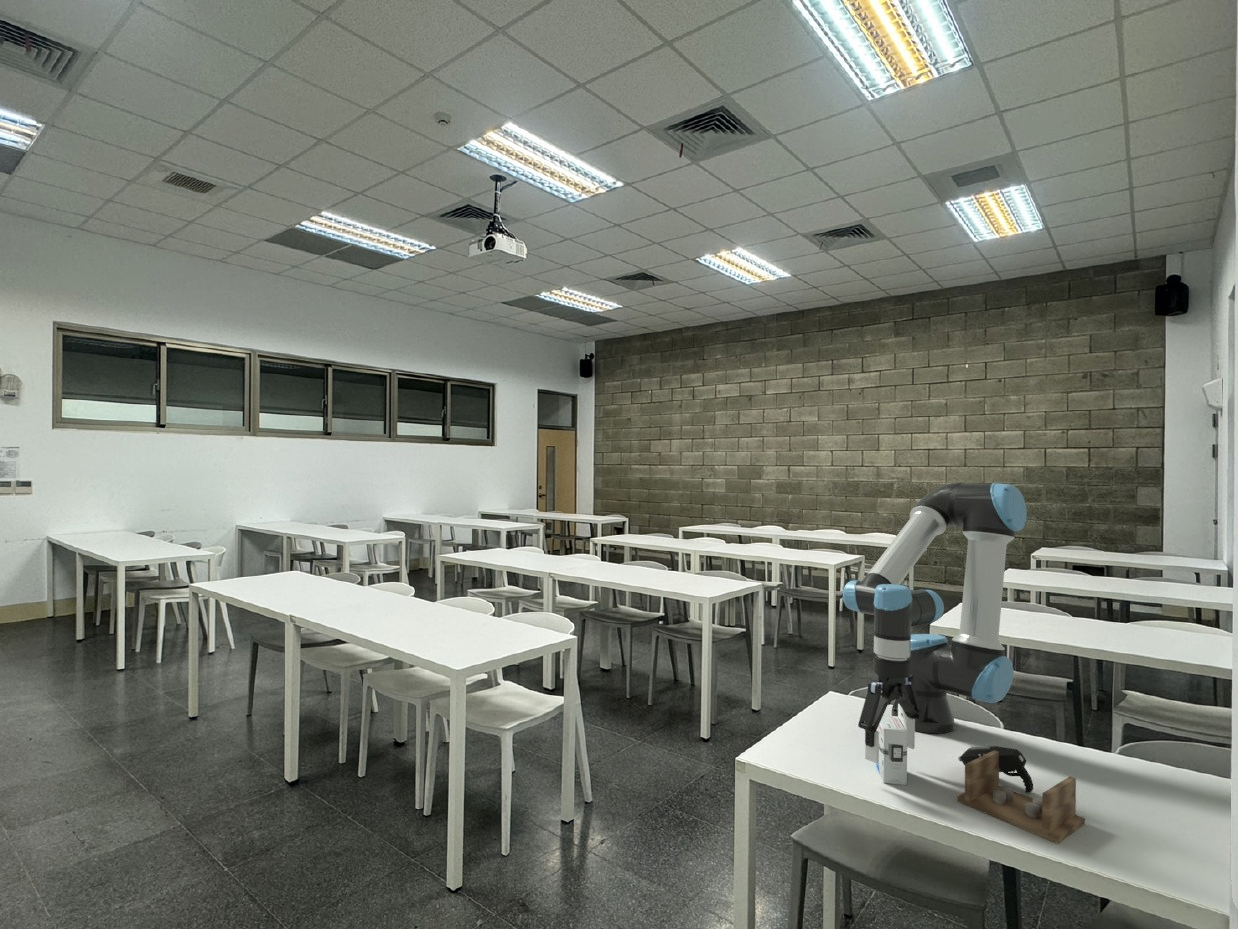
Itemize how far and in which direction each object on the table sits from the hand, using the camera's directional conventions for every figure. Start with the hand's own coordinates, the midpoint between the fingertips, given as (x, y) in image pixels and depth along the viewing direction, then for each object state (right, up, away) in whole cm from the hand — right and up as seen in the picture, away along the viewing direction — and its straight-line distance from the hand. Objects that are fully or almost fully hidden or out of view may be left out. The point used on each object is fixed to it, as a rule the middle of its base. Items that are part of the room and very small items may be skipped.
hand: (890, 753), depth 142 cm
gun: (+23, -5, -1) cm, 23 cm away
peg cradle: (+19, -5, -15) cm, 25 cm away
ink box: (0, -5, 0) cm, 5 cm away
